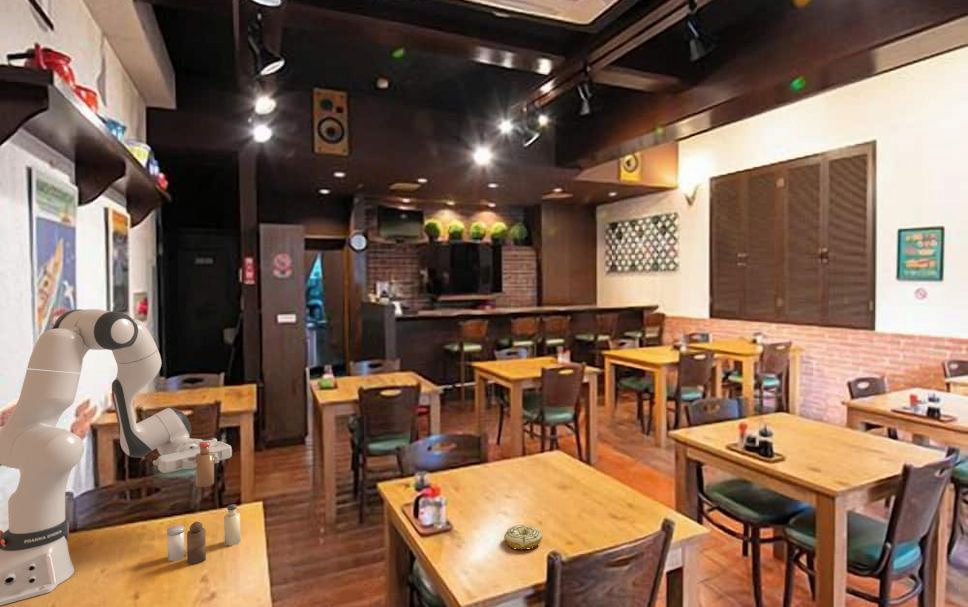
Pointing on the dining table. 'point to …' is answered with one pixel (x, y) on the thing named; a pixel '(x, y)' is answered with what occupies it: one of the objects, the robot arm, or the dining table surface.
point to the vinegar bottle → (232, 526)
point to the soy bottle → (204, 466)
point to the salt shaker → (175, 542)
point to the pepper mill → (196, 544)
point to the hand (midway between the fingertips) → (206, 462)
